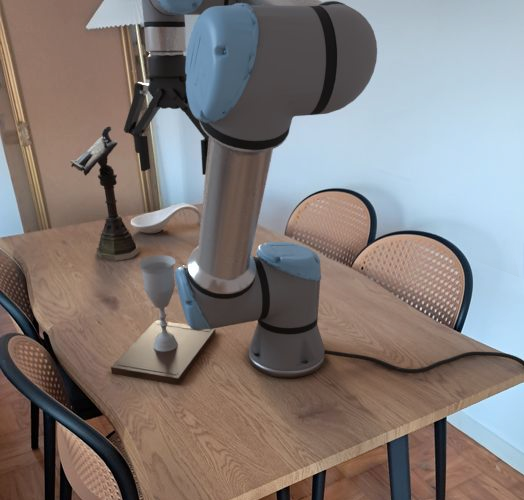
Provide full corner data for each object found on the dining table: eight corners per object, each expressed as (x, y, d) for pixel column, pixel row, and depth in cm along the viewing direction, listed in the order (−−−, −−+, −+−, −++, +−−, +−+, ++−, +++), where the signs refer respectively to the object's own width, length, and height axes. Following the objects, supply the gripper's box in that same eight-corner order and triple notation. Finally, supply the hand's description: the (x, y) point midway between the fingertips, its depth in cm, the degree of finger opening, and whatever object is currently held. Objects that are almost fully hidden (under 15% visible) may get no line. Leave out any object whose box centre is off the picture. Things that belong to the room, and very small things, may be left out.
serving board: (215, 334, 120) (215, 328, 119) (178, 385, 103) (178, 378, 102) (156, 325, 123) (156, 319, 122) (111, 373, 107) (110, 366, 106)
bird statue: (87, 268, 151) (64, 133, 133) (76, 253, 161) (52, 125, 142) (146, 257, 158) (131, 127, 140) (131, 243, 167) (116, 120, 149)
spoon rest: (136, 239, 171) (133, 216, 167) (128, 227, 180) (125, 205, 177) (208, 229, 179) (207, 207, 175) (197, 218, 188) (196, 197, 185)
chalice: (175, 356, 109) (167, 271, 100) (143, 352, 110) (132, 268, 101) (187, 337, 115) (180, 256, 106) (156, 334, 117) (147, 253, 107)
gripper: (236, 54, 103) (239, 171, 113) (117, 53, 109) (129, 164, 120) (222, 54, 97) (227, 178, 107) (96, 54, 103) (112, 171, 113)
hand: (175, 171), depth 113 cm, fingers open, 13 cm apart
